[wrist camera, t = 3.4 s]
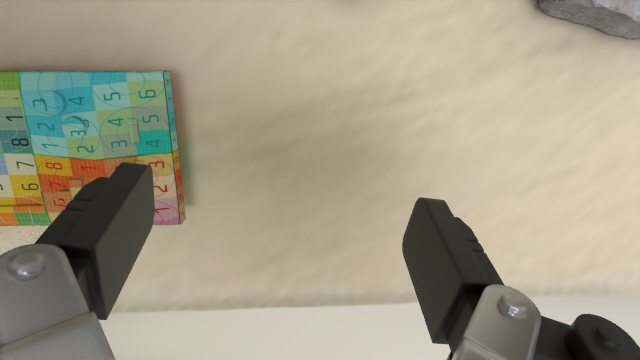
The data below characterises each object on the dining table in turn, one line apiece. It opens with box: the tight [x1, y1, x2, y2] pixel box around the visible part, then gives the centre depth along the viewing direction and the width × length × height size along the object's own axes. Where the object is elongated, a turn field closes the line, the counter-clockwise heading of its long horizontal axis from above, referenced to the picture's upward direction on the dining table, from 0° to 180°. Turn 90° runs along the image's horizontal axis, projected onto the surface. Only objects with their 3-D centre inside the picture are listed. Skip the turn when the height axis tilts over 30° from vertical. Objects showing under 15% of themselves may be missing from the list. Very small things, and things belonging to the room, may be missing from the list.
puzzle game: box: [0, 71, 186, 226], centre depth 31 cm, size 12×5×20 cm
